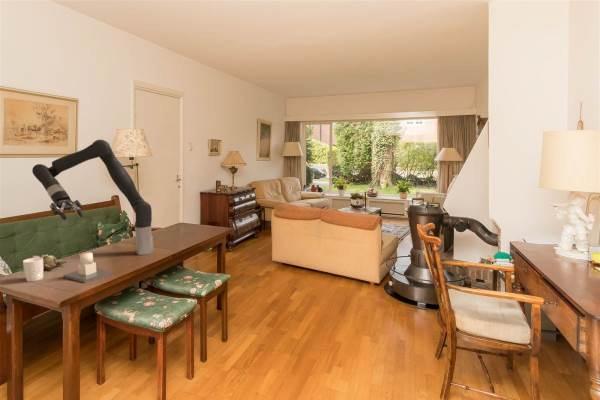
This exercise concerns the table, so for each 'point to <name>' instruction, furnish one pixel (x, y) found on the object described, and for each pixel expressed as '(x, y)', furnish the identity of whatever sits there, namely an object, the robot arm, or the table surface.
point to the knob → (86, 264)
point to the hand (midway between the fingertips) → (74, 217)
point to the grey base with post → (87, 278)
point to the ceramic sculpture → (50, 261)
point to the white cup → (33, 269)
